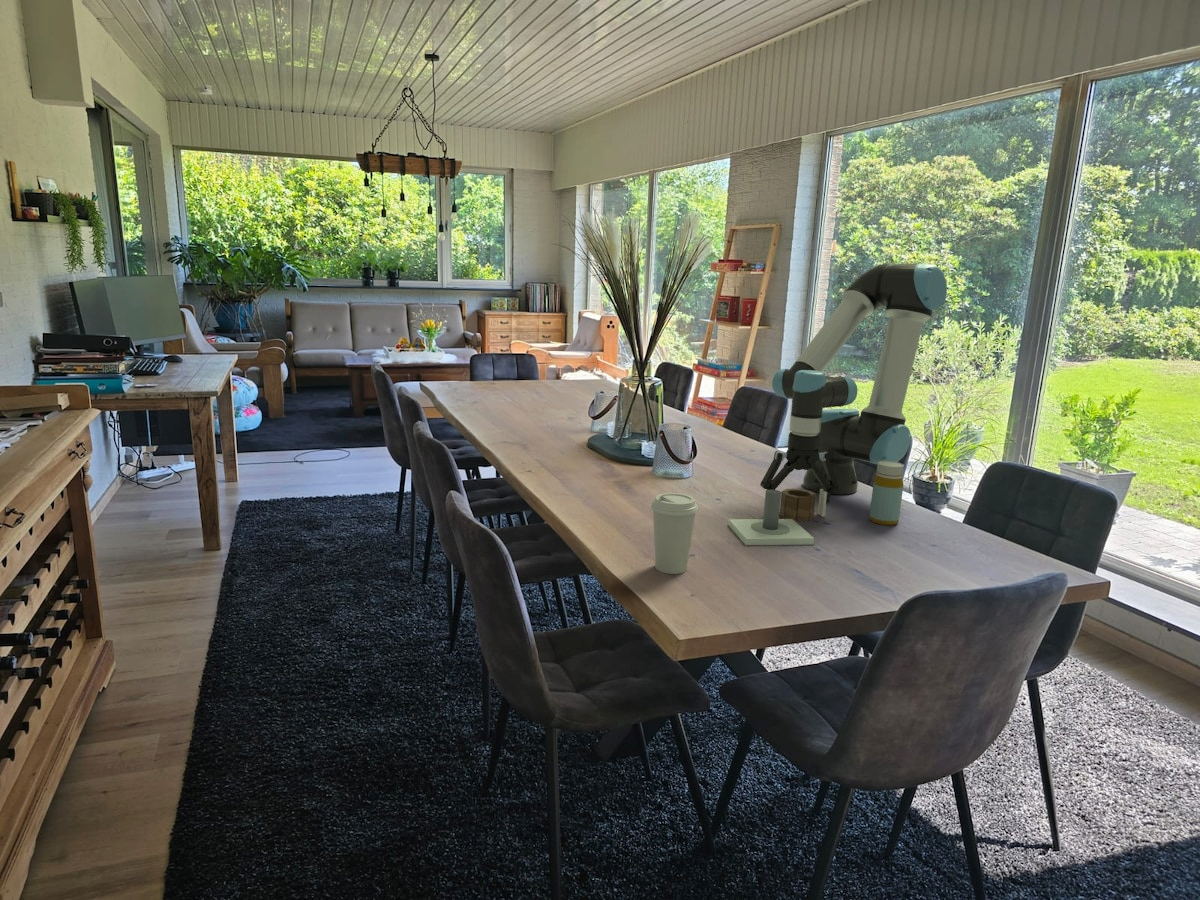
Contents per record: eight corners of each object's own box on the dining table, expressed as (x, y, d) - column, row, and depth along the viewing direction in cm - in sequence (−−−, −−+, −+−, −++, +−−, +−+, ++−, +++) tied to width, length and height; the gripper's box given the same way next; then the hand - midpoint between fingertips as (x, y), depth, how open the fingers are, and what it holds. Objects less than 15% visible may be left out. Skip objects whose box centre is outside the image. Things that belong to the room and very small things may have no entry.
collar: (805, 510, 201) (807, 488, 199) (817, 520, 193) (820, 497, 192) (776, 511, 200) (778, 488, 198) (787, 520, 192) (789, 497, 191)
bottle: (898, 519, 196) (905, 462, 193) (898, 527, 190) (906, 468, 187) (869, 515, 199) (875, 459, 195) (869, 523, 192) (876, 465, 189)
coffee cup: (644, 559, 163) (648, 491, 159) (689, 559, 164) (693, 491, 160) (651, 577, 154) (655, 505, 150) (698, 577, 154) (703, 505, 151)
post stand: (791, 524, 189) (795, 483, 187) (813, 544, 176) (818, 500, 173) (728, 525, 187) (731, 483, 185) (745, 545, 174) (749, 500, 171)
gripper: (844, 430, 197) (836, 510, 202) (752, 429, 194) (745, 510, 198) (858, 436, 189) (848, 519, 194) (761, 435, 186) (754, 519, 191)
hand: (796, 515), depth 196 cm, fingers open, 12 cm apart
